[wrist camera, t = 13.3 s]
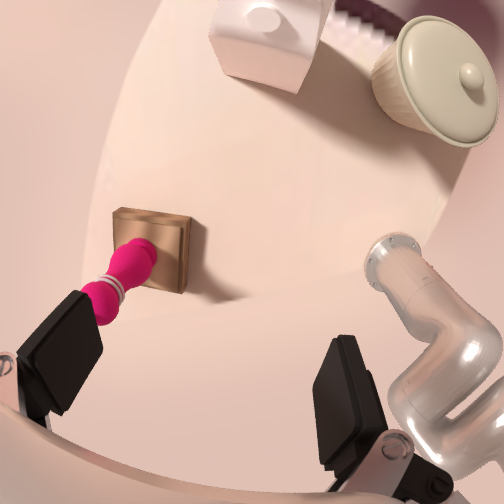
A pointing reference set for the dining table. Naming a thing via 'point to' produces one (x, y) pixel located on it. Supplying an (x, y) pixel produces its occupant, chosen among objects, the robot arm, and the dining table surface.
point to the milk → (268, 39)
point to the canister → (438, 83)
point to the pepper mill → (121, 278)
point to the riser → (157, 244)
